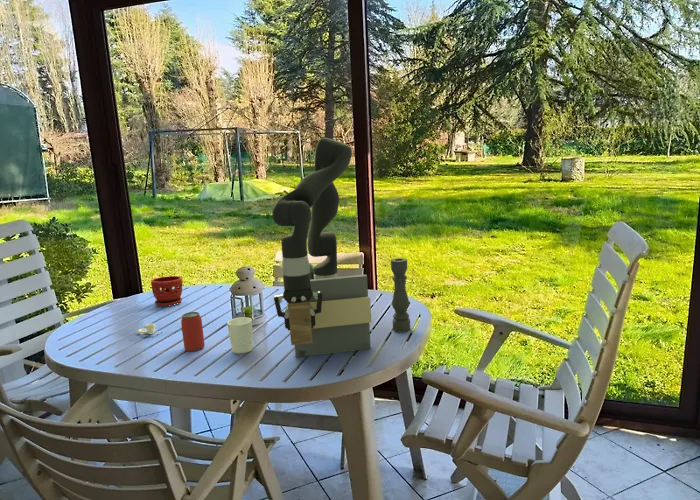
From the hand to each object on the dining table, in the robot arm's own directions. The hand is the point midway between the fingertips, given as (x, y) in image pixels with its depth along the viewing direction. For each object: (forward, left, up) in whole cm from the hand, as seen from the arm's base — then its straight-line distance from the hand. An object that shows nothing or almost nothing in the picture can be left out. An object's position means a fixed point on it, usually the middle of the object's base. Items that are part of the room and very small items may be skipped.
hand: (300, 328), depth 140 cm
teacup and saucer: (-75, -1, -14) cm, 77 cm away
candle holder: (+8, +44, -13) cm, 46 cm away
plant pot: (-102, +25, -13) cm, 106 cm away
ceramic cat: (-50, +62, -13) cm, 81 cm away
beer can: (-45, -4, -13) cm, 47 cm away
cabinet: (0, 0, -4) cm, 4 cm away
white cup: (-29, +3, -13) cm, 32 cm away
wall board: (-2, +16, -13) cm, 21 cm away
